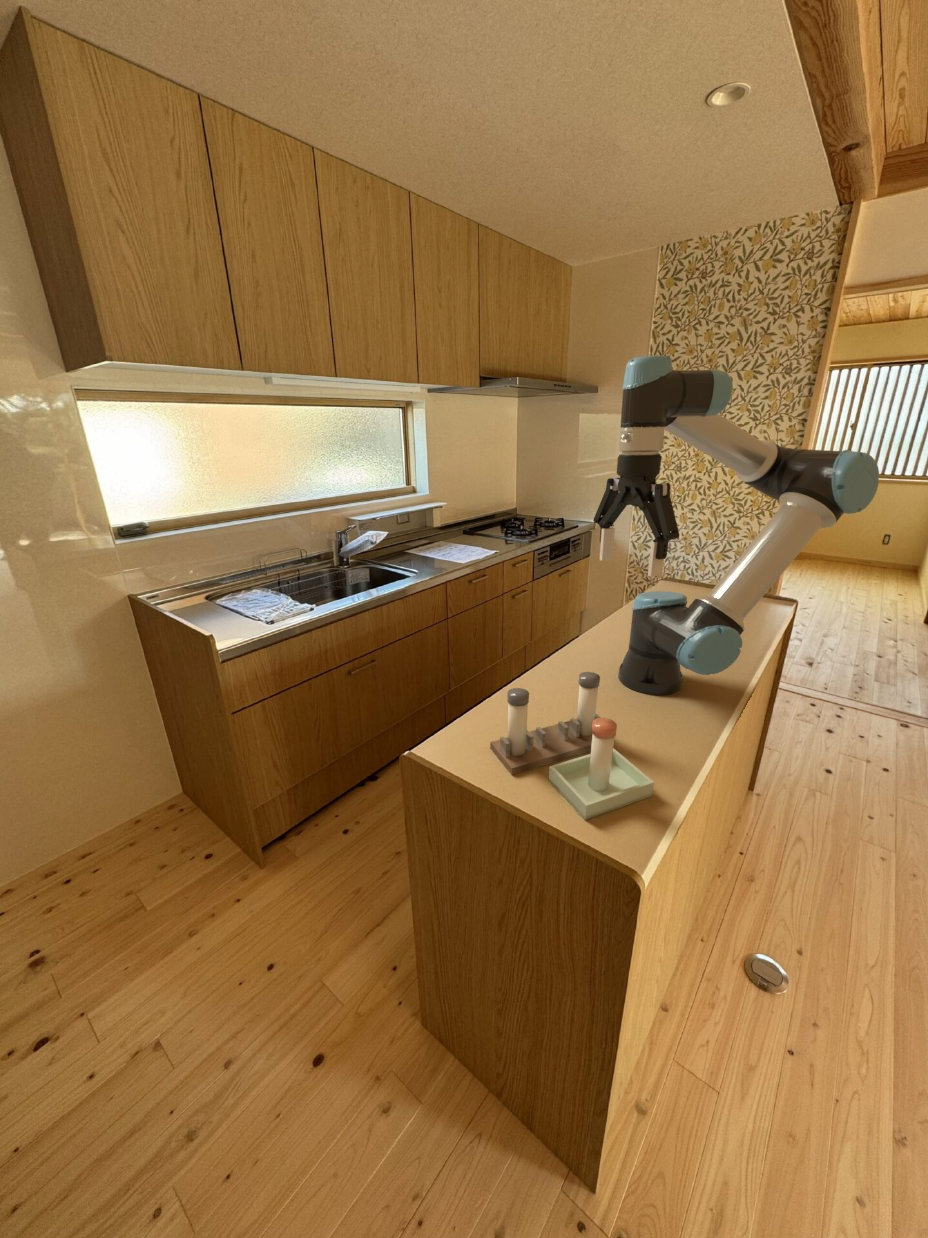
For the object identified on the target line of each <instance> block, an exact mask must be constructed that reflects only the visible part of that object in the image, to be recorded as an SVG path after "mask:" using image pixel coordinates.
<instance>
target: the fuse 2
mask: <svg viewBox="0 0 928 1238" xmlns="http://www.w3.org/2000/svg"><path fill="white" fill-rule="evenodd" d="M600 676H601V675H599V674H597V672H593V671H583V672H580V673H579V674H578V685H579V687H578V701H577V712H576V713H577V714H576V719H577V721H578V722H579V723H580V735H583V736H590V735H592V734H593V733H592V722H593V720H594V719H595V715H596V714H597V701H598V693H599V692H598V691H599V686H600V683H601V682H600V681H601V677H600Z"/></svg>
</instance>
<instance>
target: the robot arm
mask: <svg viewBox="0 0 928 1238" xmlns="http://www.w3.org/2000/svg"><path fill="white" fill-rule="evenodd" d="M733 388H734V387H733V381H732V378H731V376H730V375H729V374H728V372H726V371H723V370H717V369H716V370H714V369H712V368H711V369H700V370H699V369H696V370H694V369H692V370H689V369H688V370H676V369H673V360H672V358H671V357H670V356H669V355H645V356H639V357H638V356H637V357H634V358H632V359H630V360H628V362H627V363H626V366H625V371H624V377H623V384H622V399H621V412H620V413H621V415H620V417H621V418H620V429H619V430H620V431H619V441H618V451H619V452H621V454H619V455H618V456H617V463H616V475H617V476H618V477H610V478H608V479H607V481H606V487H605V491H604V493H603V495H602V499H600V503H599V505H598V507H597V510H596V512H595V514H594V516H593V523H594V524H597V525H598V527H599V529H600V530H599V543H600V548H599V549H600V550H599V561H600V562H601V561H602V562H603V561H609V560H613V556H614V555H613V554H614V543H615V542H614V541H615V530H616V528H615V524H614V523H615V522H616V521H617V519H618V518H619V517H620V515H622V513H623V511H624V510H625V509H626V507H628V506H632V507H635V508H637V507H638V509H639V510H640V511H642V513H643V515H644V517H645V519H646V521H647V524H648V526H649V528H650V530H651V533H652V535H653V536H654V539H653V540H651V542H650V550H649V558H648V559H649V562H648V570H647V577H649V578H653V577H657V576H658V577H659V576H662V575H663V569H664V560H665V559H666V558H667V555H668V548H669V542H670V541H672V540H675V539H679V537H680V532H679V528H678V523H677V519H676V514H675V511H674V507H673V503H672V499H671V484H670V483H669V482H664V483H663V482H662V483H661V482H660V483H657V481H656V479H657V476H659V475H660V473H661V465H662V455H661V454H660V452H661V451H662V450H663V449H664V436H665V431H666V432H668V433H669V434H670V435H671V434H672V435H673V436H674V437H676V438H678V439H680V440H682V441H683V442H685V443H686V444H688V445H690V446H691V447H693V448H695V449H697V450H698V451H701V452H702V453H703V454H705V455H706V456H709V457H710V458H712V459H714V460H716V461H717V462H719V463H721V464H722V465H724V466H726V467H727V468H729V469H731V470H733V471H734V472H736V476H737V478H738V480H740V481H742V482H743V483H745V484H747V485H748V486H750V487H752V488H753V489H755V490H757V492H760V493H761V494H764V495H766V496H767V497H769V498H771V499H773V500H776V501H778V502H779V505H780V508H779V509H778V510H777V511H776V512H775V514H774V515H773V516H772V517H771V519H769V521H768V522H767V523H766V525H764V527H763V528H762V529H761V530H760V532H759V533H758V534H757V535H756V536H755V538H754V539H753V540H752V541H751V542H750V544H749V545H748V546H747V547H746V549H745V550H744V551H743V552H742V553H741V555H740V556H738V558H737V559H736V561H735V562H734V563H733V564H732V565H731V567H730V568H729V569H728V570H727V571H726V572H725V574H724V575H723V576H722V578H720V580H719V581H718V582H717V584H715V586H714V587H713V588H712V590H710V592H709V593H708V594H707V595H705V596H700V597H696V598H695V599H694V600H693V601H692V603H690V604H689V606H688V607H687V604H688V598H687V596H686V595H685V594H683V593H681V592H676V591H674V592H673V591H664V590H663V591H662V590H661V591H659V590H658V591H646V592H641V593H639V594H638V595H636V597H635V598H634V600H633V601H634V602H633V606H632V615H631V623H630V624H631V625H630V635H629V643H628V649H627V652H626V653H625V656H624V657H623V660H622V663H620V666H619V668H618V676H617V677H618V680H619V681H620V683H621V684H622V685H623V686H625V687H626V688H629V689H631V690H632V691H635V692H639V693H643V694H647V695H656V696H657V695H660V696H661V695H671V694H674V693H677V692H678V691H680V689H681V688H682V684H683V677H684V676H683V673H682V671H681V667H683V668H684V669H686V670H689V671H692V672H693V673H695V674H697V675H701V676H710V675H715V674H719V673H721V672H724V671H725V670H726V669H728V668H729V667H730V666H732V665H733V664H734V663H735V661H737V659H738V658H739V656H740V654H741V652H742V651H741V648H743V639H742V636H741V635H742V634H743V632H745V624H744V619H745V618H746V617H747V615H749V613H750V612H751V611H752V610H753V609H754V608H755V606H757V604H758V603H759V602H760V601H761V599H763V597H764V596H765V594H766V593H767V592H768V591H769V589H771V587H772V586H773V585H774V584H775V583H776V582H777V581H778V580H779V577H781V576H782V574H783V573H784V572H785V571H786V570H787V569H788V568H789V566H790V565H791V564H792V563H793V561H794V560H795V559H796V558H797V557H798V555H800V553H801V552H802V550H803V549H804V548H805V547H806V546H807V545H808V544H809V542H810V541H811V540H812V539H813V538H814V537H815V536H816V535H817V533H818V532H819V531H820V530H821V529H827V528H831V527H834V525H836V524H837V522H838V521H839V520H840V519H841V517H842V516H843V515H845V514H847V515H850V514H856V513H860V512H862V511H864V510H865V509H866V508H867V507H868V506H869V505H870V504H871V502H873V500H874V498H875V496H876V494H877V491H878V488H879V484H880V482H879V481H880V480H879V479H880V470H879V466H878V463H877V462H876V460H875V458H874V457H873V456H872V455H870V454H868V453H866V452H863V451H862V452H861V451H853V450H852V449H851V450H850V449H845V450H822V449H805V448H804V449H803V448H793V447H792V448H790V447H786V446H785V447H784V446H781V445H778V444H777V443H775V442H773V441H771V440H760V439H758V438H757V437H755V436H753V435H752V434H750V433H749V432H748V431H745V430H744V429H742V428H741V427H740V426H737V425H736V424H734V423H733V422H732V421H730V420H728V419H727V418H725V417H724V416H722V415H721V414H720V413H722V412H723V411H724V410H725V409H726V408H727V406H728V405H729V403H730V401H731V398H732V394H733Z"/></svg>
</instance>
